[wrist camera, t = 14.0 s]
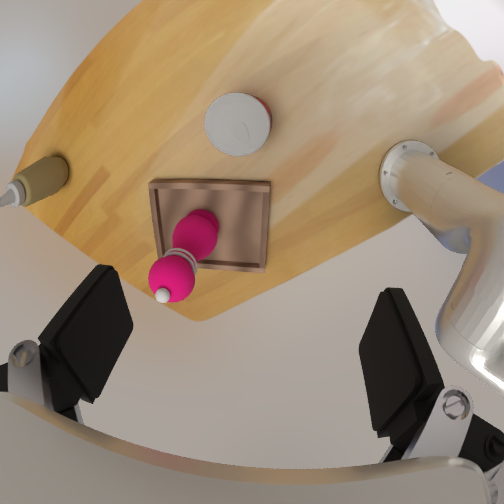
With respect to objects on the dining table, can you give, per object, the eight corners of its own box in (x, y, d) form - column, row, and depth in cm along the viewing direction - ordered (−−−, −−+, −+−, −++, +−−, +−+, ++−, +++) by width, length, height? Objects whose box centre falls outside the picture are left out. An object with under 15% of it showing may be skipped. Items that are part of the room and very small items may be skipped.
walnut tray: (270, 181, 43) (269, 186, 41) (265, 265, 52) (264, 273, 49) (154, 178, 45) (148, 183, 43) (163, 257, 53) (159, 264, 51)
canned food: (248, 153, 41) (239, 169, 32) (211, 120, 39) (190, 126, 30) (283, 120, 38) (285, 125, 29) (245, 85, 36) (233, 79, 26)
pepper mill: (230, 231, 48) (202, 311, 30) (198, 250, 50) (160, 328, 33) (205, 198, 45) (160, 264, 28) (174, 219, 47) (121, 288, 30)
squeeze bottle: (59, 194, 48) (2, 233, 32) (43, 165, 44) (-17, 196, 29) (78, 176, 45) (16, 213, 30) (62, 144, 42) (-4, 171, 26)
